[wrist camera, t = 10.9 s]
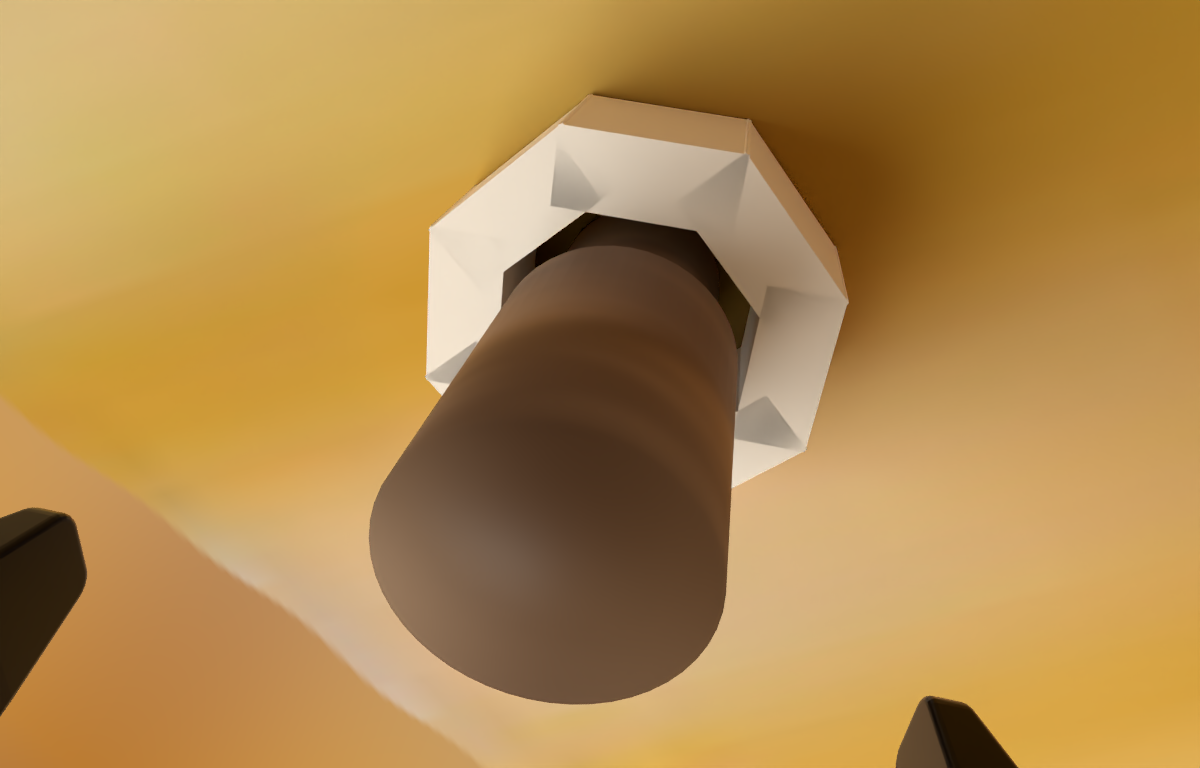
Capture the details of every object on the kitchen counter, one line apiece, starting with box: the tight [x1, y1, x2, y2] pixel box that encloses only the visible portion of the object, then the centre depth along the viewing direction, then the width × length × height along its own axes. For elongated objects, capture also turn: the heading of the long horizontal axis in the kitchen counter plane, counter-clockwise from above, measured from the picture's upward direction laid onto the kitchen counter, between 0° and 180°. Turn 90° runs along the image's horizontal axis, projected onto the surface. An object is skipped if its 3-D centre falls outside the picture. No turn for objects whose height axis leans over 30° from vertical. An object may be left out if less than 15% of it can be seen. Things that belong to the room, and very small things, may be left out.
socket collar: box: [425, 94, 849, 489], centre depth 18 cm, size 8×8×3 cm
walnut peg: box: [369, 215, 738, 704], centre depth 15 cm, size 5×5×10 cm
